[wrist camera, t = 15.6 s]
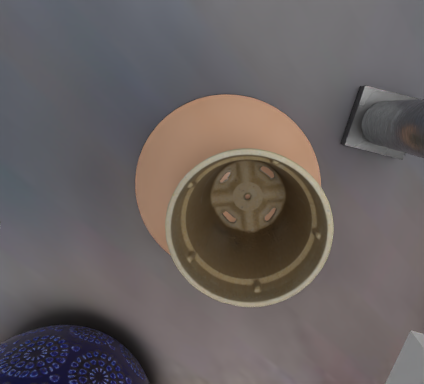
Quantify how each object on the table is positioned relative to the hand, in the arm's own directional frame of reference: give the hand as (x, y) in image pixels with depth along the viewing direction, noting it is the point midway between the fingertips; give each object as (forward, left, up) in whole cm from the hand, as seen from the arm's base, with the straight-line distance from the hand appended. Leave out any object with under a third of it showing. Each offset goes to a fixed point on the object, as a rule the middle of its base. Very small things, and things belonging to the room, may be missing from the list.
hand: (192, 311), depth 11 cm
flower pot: (0, +2, -18) cm, 18 cm away
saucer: (0, 0, -18) cm, 18 cm away
